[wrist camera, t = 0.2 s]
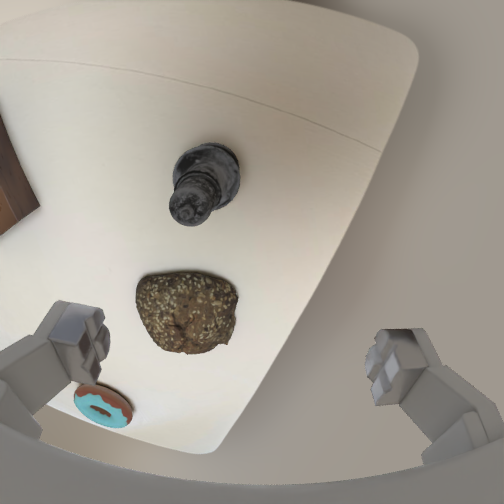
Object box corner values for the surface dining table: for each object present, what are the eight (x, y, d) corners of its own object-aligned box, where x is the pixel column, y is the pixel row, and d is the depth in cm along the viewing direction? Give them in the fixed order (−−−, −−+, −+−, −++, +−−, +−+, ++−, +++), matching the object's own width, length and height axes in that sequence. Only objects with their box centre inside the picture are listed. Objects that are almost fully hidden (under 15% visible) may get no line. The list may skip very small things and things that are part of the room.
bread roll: (133, 265, 35) (118, 290, 30) (239, 271, 35) (236, 298, 30) (149, 343, 41) (140, 369, 36) (237, 350, 41) (235, 379, 36)
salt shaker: (236, 202, 31) (223, 266, 20) (178, 192, 30) (137, 250, 20) (248, 145, 28) (240, 179, 17) (186, 135, 27) (142, 163, 17)
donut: (93, 371, 45) (85, 389, 42) (146, 407, 50) (141, 424, 46) (69, 389, 49) (62, 404, 46) (116, 420, 54) (111, 435, 50)
